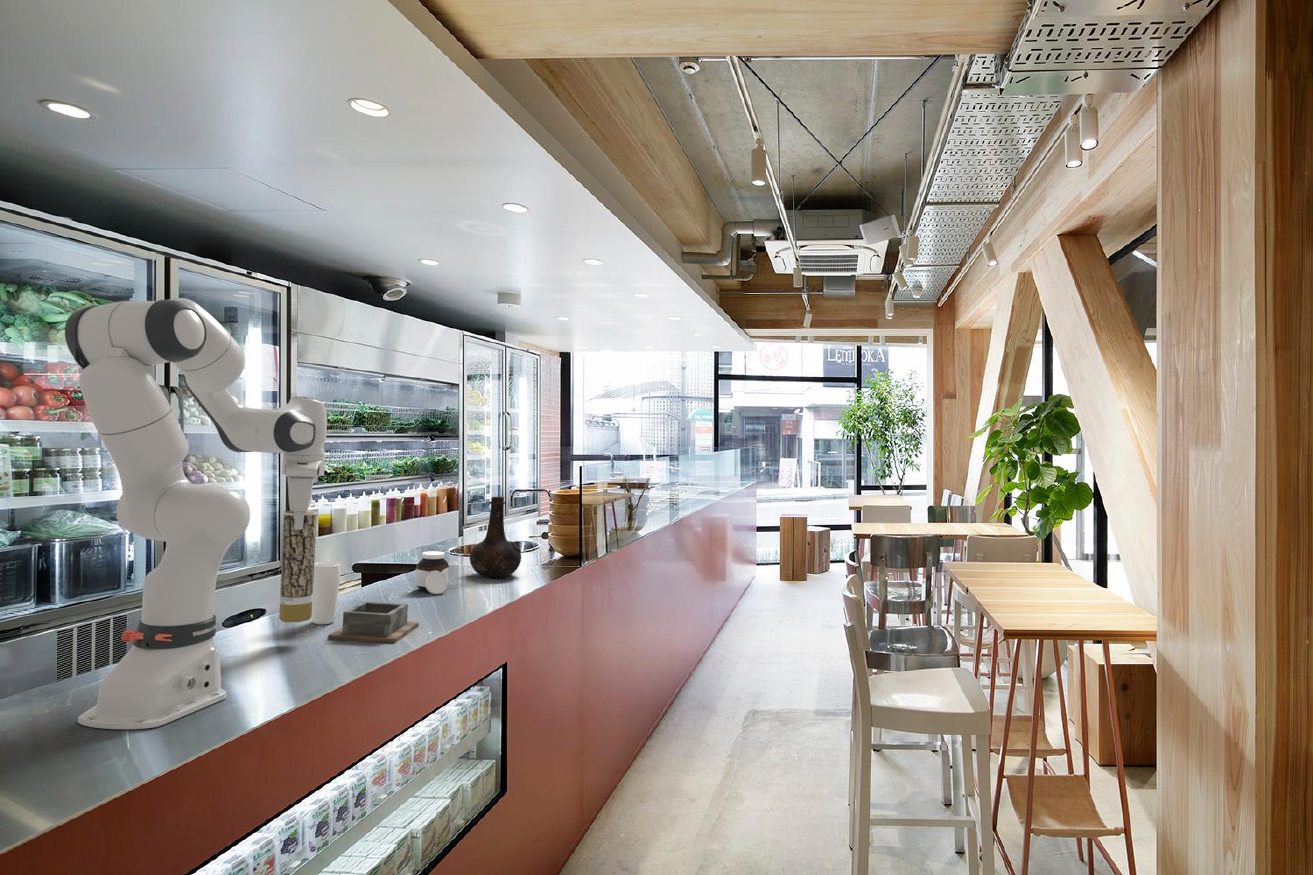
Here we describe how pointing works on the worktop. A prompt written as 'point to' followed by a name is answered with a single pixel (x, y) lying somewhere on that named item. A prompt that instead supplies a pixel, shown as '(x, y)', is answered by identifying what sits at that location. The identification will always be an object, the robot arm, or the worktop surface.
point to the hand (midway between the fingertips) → (299, 527)
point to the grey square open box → (375, 623)
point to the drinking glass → (325, 591)
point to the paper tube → (297, 568)
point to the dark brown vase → (495, 547)
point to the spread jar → (432, 572)
